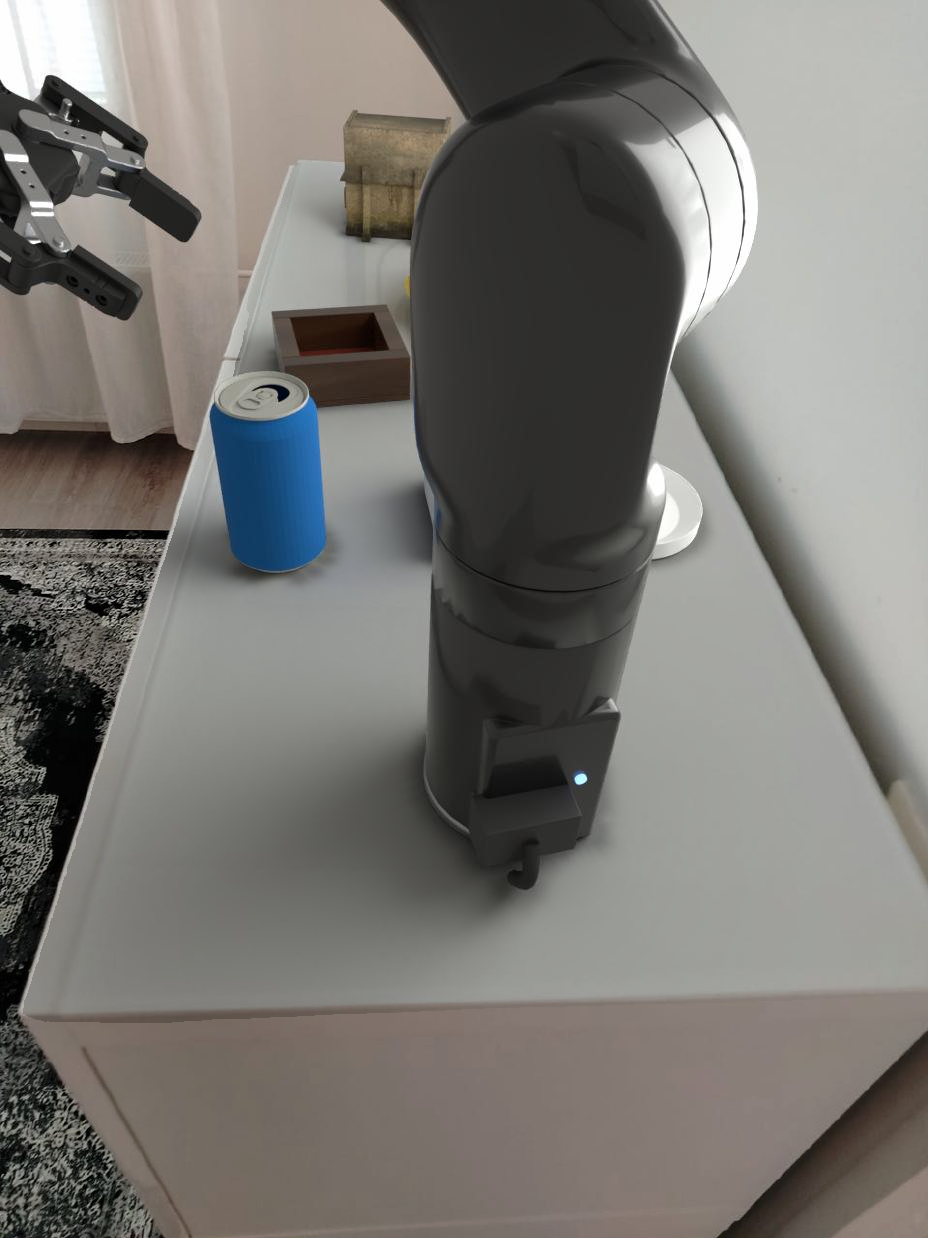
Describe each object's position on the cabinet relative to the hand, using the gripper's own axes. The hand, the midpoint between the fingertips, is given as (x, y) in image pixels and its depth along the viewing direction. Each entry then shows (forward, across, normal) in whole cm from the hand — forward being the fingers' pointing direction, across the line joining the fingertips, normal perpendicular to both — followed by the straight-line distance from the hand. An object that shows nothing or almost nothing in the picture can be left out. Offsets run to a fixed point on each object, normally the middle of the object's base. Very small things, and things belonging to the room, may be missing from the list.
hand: (167, 265), depth 50 cm
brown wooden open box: (+14, +22, +17) cm, 31 cm away
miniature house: (+15, +61, +23) cm, 67 cm away
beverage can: (+15, -3, +12) cm, 20 cm away
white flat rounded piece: (+31, +5, +3) cm, 32 cm away
